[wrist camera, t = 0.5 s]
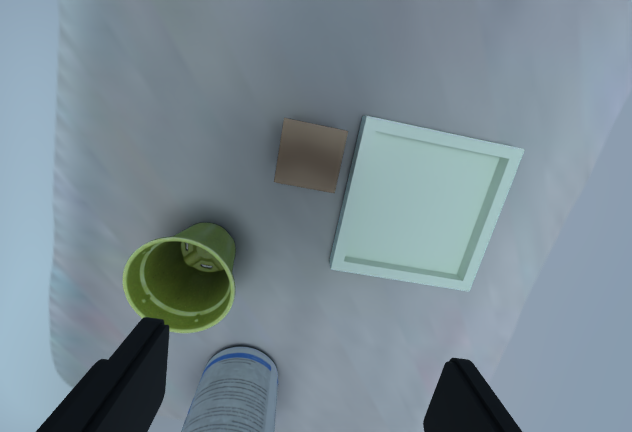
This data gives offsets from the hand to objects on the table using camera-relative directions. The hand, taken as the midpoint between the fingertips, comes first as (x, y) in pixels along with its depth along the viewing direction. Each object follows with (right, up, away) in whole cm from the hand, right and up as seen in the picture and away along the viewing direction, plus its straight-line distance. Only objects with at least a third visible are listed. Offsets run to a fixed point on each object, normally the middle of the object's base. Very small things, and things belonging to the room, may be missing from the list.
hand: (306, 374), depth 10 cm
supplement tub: (-9, -15, +30) cm, 35 cm away
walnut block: (-1, +12, +21) cm, 25 cm away
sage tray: (+11, +6, +24) cm, 27 cm away
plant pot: (-12, +2, +24) cm, 27 cm away
